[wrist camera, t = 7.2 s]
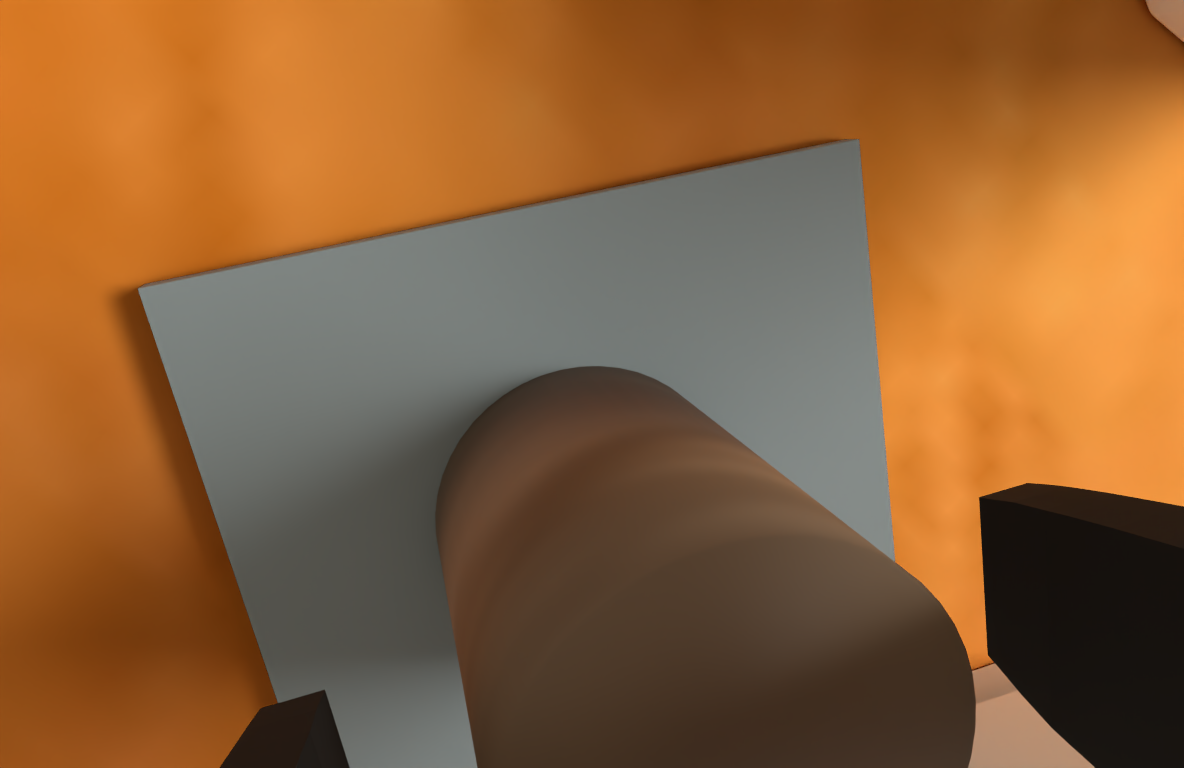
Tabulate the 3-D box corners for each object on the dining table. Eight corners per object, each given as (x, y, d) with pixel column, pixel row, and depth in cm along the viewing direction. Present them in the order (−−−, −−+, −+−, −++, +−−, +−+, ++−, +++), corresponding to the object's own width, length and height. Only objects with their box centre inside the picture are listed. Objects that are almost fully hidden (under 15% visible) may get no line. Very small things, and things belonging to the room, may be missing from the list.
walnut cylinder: (707, 335, 13) (965, 475, 7) (743, 600, 14) (985, 891, 9) (403, 406, 12) (433, 625, 7) (471, 681, 14) (543, 1059, 8)
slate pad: (845, 138, 13) (859, 139, 13) (890, 650, 16) (903, 662, 16) (145, 284, 11) (137, 288, 11) (329, 833, 14) (328, 852, 14)
